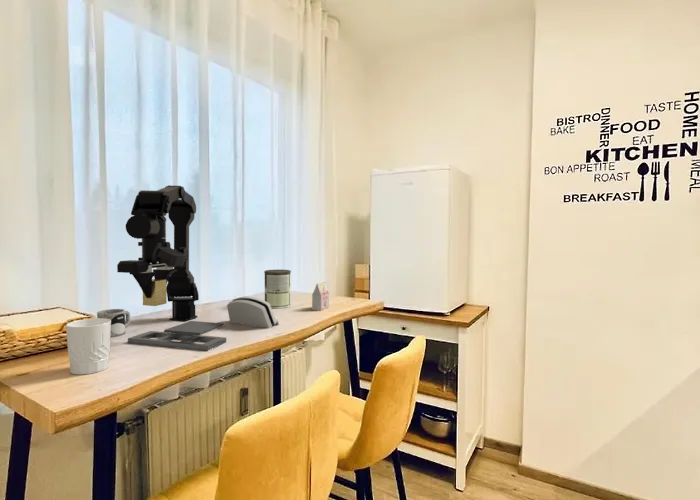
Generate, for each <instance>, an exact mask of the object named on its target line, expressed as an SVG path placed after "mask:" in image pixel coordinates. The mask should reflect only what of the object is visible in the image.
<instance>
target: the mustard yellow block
mask: <svg viewBox="0 0 700 500" xmlns="http://www.w3.org/2000/svg"><path fill="white" fill-rule="evenodd" d="M166 287H167V285H166V280H165V279H155V278H152V292H151V298H146V296H145V294H144V293H143V292H142V306H146V307H147V306H148V307H158V306H161V305H166V304H167V302H168V298H167V291H166Z"/></svg>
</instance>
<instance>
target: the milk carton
mask: <svg viewBox="0 0 700 500" xmlns="http://www.w3.org/2000/svg"><path fill="white" fill-rule="evenodd" d="M328 307H329V308H330V292H329V289H328V287H327V283H326V282H320V283H316V284H315V288H314V290H313V292H312V295H311V309H312V311H316V310H317V311H318V312H322V311H324V309H325V310H327V309H329V308H328ZM326 308H327V309H326Z"/></svg>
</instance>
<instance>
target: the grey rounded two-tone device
mask: <svg viewBox="0 0 700 500" xmlns="http://www.w3.org/2000/svg"><path fill="white" fill-rule="evenodd" d="M226 308H227V311H228V312H227V313H228V317H229V322H230V323H232V324H239V325H240V324H241V325H246V326H247V325H248V326H253V327H259V328H266V329H272V327H273V325H274V326H275V325H276V326H279V325H280V321H279V319H276V316H275V315H274V312H273V308H271V306H270V304H269V303H268V302H266V301H265V299H261V298H258V297H254V296H241V297H237V298H235V299H232V300H231V301H229V302H228V303H227V305H226Z"/></svg>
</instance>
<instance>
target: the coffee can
mask: <svg viewBox="0 0 700 500" xmlns="http://www.w3.org/2000/svg"><path fill="white" fill-rule="evenodd" d="M263 272H264V301H266V302H268V303H269V304H270V306H271V309H272V310H274V309H286V308H290V307H291V272H292V271H291V270H289V269H267V270H264V271H263Z"/></svg>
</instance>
